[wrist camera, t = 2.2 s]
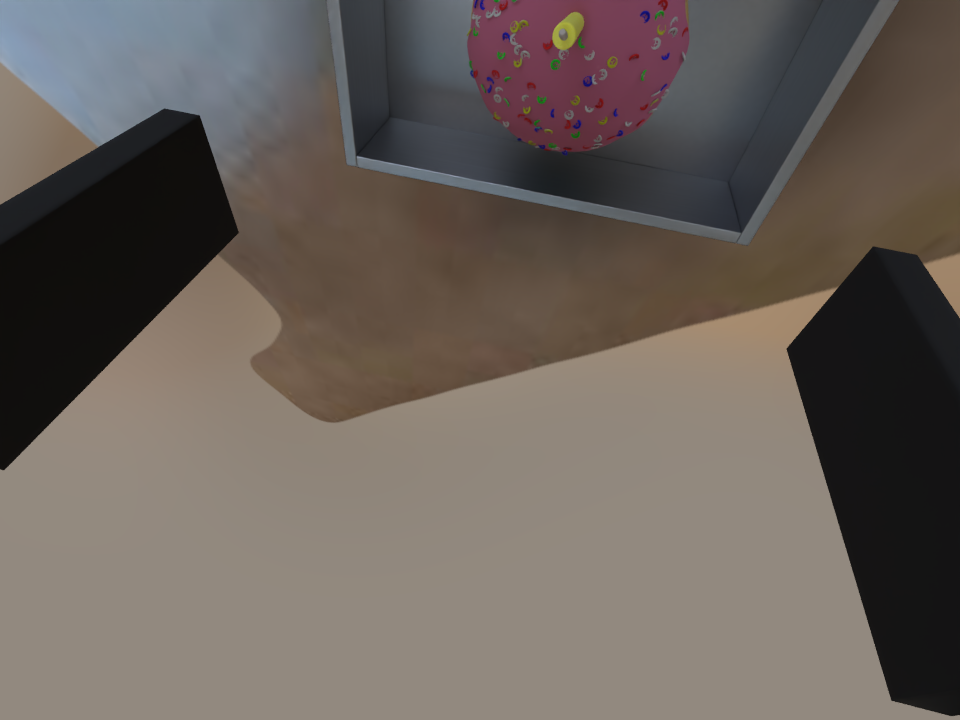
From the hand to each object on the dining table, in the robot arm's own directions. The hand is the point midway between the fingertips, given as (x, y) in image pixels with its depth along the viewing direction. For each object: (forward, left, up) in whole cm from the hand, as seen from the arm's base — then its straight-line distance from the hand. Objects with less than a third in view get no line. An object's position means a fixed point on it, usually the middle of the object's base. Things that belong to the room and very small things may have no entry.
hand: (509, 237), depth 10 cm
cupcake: (0, 0, -18) cm, 18 cm away
